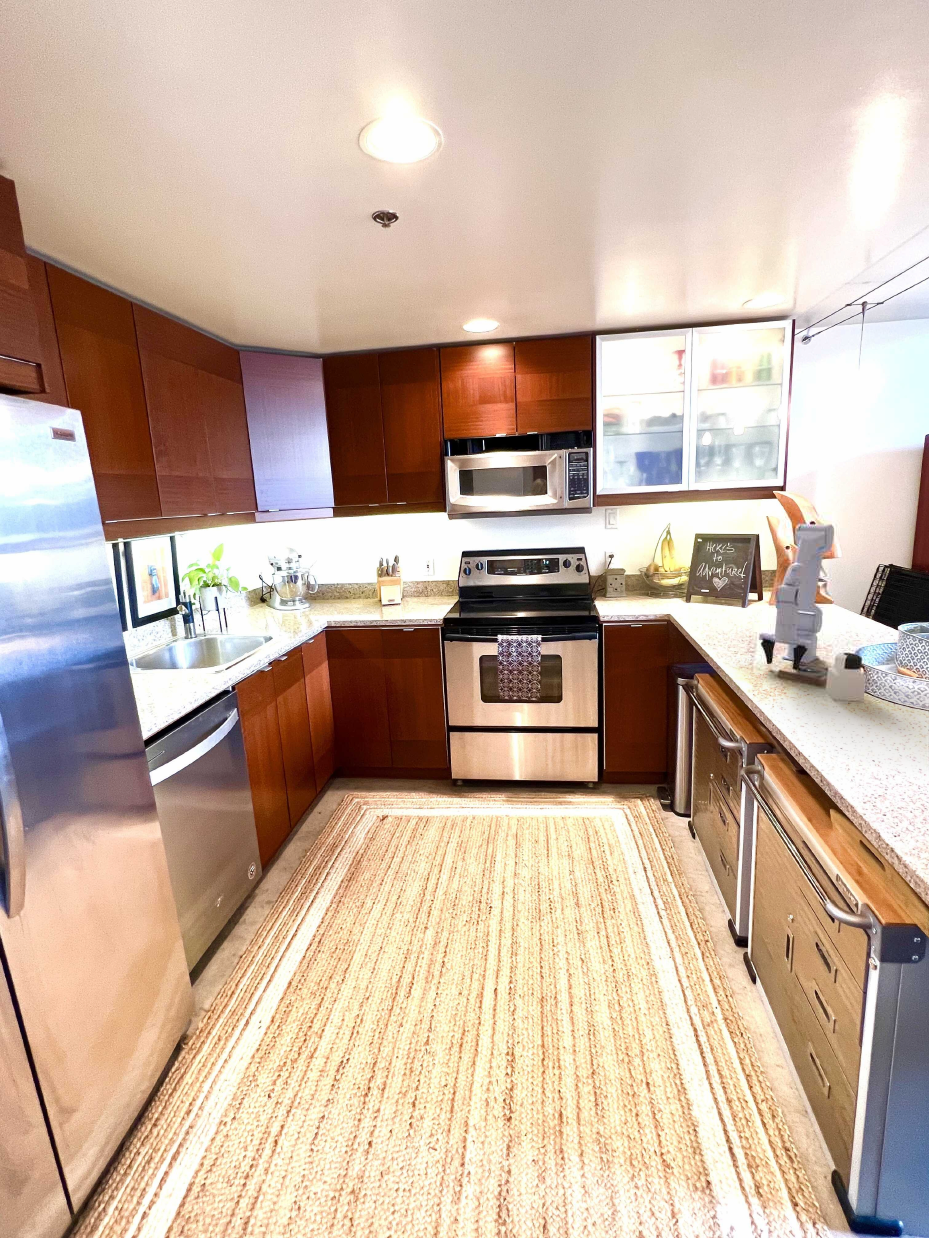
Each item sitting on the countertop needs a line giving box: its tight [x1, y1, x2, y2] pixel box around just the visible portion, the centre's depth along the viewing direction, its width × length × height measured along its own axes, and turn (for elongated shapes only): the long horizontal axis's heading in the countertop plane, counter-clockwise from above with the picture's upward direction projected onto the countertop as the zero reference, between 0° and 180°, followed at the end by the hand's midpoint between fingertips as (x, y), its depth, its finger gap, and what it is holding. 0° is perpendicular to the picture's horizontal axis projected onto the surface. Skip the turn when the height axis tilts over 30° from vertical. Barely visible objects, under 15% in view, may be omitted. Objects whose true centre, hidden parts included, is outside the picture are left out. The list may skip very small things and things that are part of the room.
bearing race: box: [795, 666, 828, 678], centre depth 174 cm, size 8×8×2 cm
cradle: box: [777, 662, 829, 688], centre depth 174 cm, size 12×12×2 cm
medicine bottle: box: [825, 652, 867, 702], centre depth 157 cm, size 7×7×12 cm
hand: (782, 666), depth 180 cm, fingers open, 7 cm apart
